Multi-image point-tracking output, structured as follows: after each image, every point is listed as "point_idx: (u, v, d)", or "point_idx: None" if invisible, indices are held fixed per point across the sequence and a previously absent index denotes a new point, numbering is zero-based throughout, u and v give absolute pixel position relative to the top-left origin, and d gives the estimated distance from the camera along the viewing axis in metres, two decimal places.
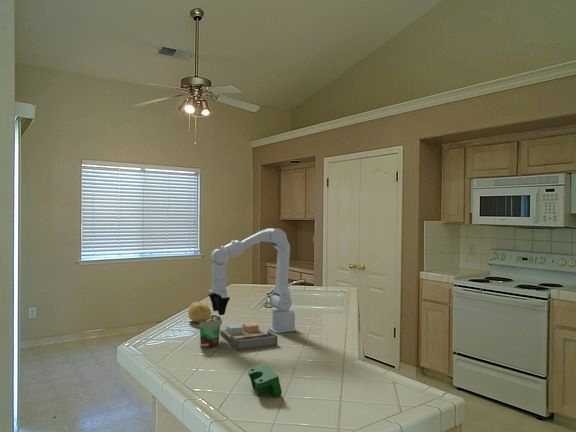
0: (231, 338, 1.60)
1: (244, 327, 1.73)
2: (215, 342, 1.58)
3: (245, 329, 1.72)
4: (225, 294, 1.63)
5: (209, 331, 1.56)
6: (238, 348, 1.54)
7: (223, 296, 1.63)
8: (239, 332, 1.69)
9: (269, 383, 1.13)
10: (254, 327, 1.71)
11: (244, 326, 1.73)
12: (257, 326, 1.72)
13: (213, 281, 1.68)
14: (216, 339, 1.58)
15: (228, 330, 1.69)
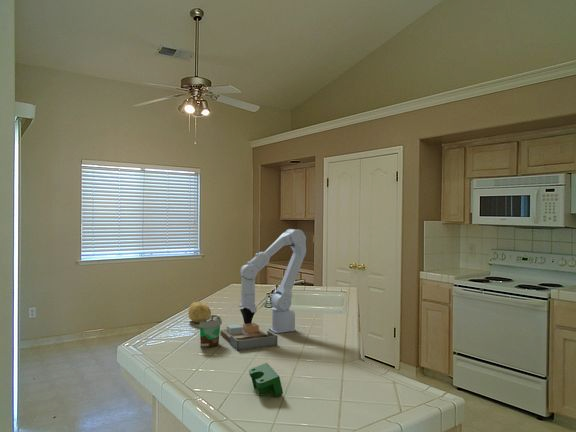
0: (231, 338, 1.60)
1: (244, 327, 1.73)
2: (215, 342, 1.58)
3: (245, 329, 1.71)
4: (255, 309, 1.70)
5: (209, 331, 1.56)
6: (238, 348, 1.54)
7: (253, 311, 1.70)
8: (239, 332, 1.69)
9: (270, 383, 1.13)
10: (254, 327, 1.71)
11: (244, 326, 1.73)
12: (257, 326, 1.72)
13: (243, 296, 1.74)
14: (216, 339, 1.58)
15: (228, 330, 1.69)
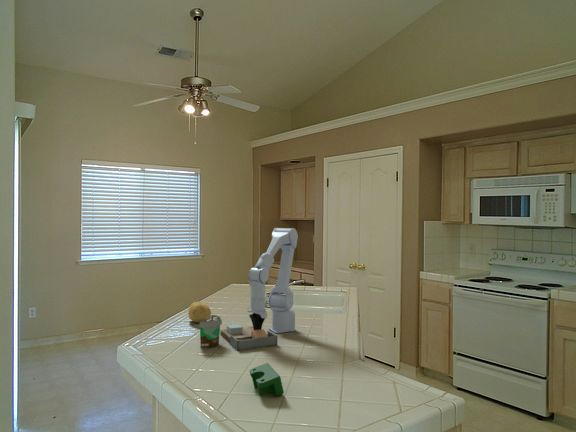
0: (231, 338, 1.60)
1: (252, 335, 1.63)
2: (215, 342, 1.58)
3: (253, 338, 1.62)
4: (265, 314, 1.60)
5: (209, 331, 1.56)
6: (238, 348, 1.54)
7: (263, 316, 1.60)
8: (239, 332, 1.69)
9: (271, 383, 1.13)
10: None
11: (253, 334, 1.63)
12: None
13: (252, 300, 1.65)
14: (216, 339, 1.58)
15: (228, 330, 1.69)
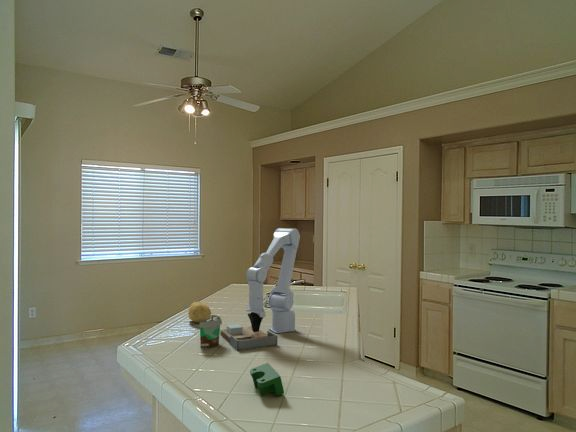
0: (231, 338, 1.60)
1: (253, 338, 1.63)
2: (215, 342, 1.58)
3: None
4: (264, 313, 1.62)
5: (209, 331, 1.56)
6: (238, 348, 1.54)
7: (262, 315, 1.62)
8: (239, 332, 1.69)
9: (271, 383, 1.13)
10: None
11: (253, 337, 1.63)
12: None
13: (250, 300, 1.66)
14: (216, 339, 1.58)
15: (228, 330, 1.69)
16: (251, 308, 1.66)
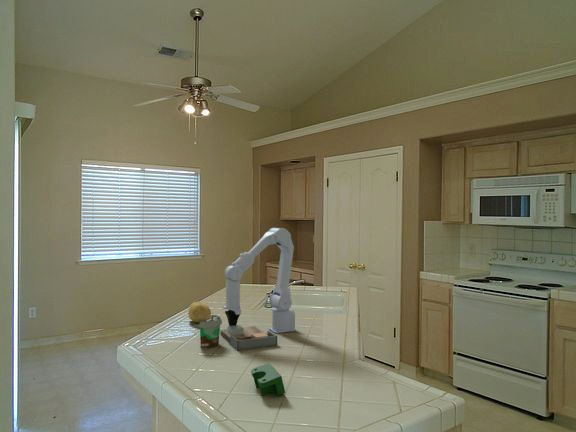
0: (231, 338, 1.60)
1: (253, 338, 1.63)
2: (215, 342, 1.58)
3: None
4: (239, 311, 1.66)
5: (209, 331, 1.56)
6: (238, 348, 1.54)
7: (237, 313, 1.66)
8: (240, 333, 1.67)
9: (272, 383, 1.14)
10: None
11: (253, 337, 1.63)
12: None
13: (227, 297, 1.70)
14: (216, 339, 1.58)
15: (229, 331, 1.68)
16: (228, 306, 1.70)
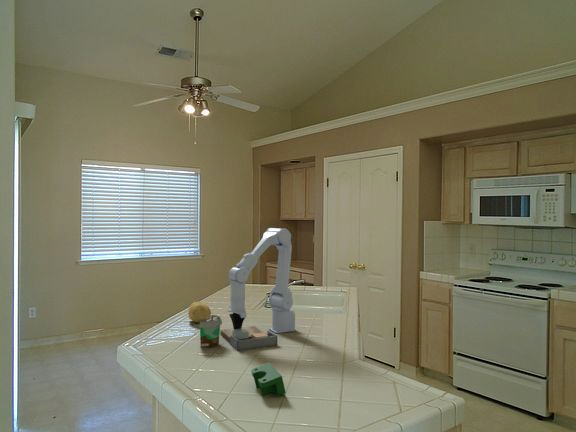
0: (231, 338, 1.60)
1: (253, 338, 1.63)
2: (215, 342, 1.58)
3: None
4: (244, 314, 1.61)
5: (209, 331, 1.56)
6: (238, 348, 1.54)
7: (242, 316, 1.60)
8: (245, 337, 1.62)
9: (273, 383, 1.14)
10: None
11: (253, 337, 1.63)
12: None
13: (232, 300, 1.65)
14: (216, 339, 1.58)
15: (234, 335, 1.63)
16: (232, 308, 1.65)
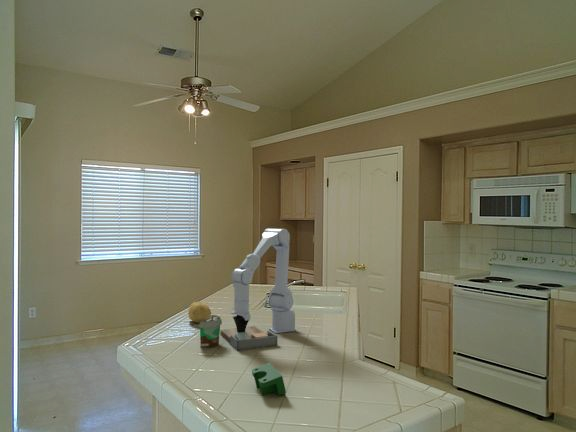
0: (231, 338, 1.60)
1: (253, 338, 1.63)
2: (215, 342, 1.58)
3: None
4: (249, 316, 1.57)
5: (209, 331, 1.56)
6: (238, 348, 1.54)
7: (247, 318, 1.56)
8: None
9: (273, 382, 1.14)
10: None
11: (253, 337, 1.63)
12: None
13: (235, 302, 1.61)
14: (216, 339, 1.58)
15: None
16: (236, 311, 1.61)
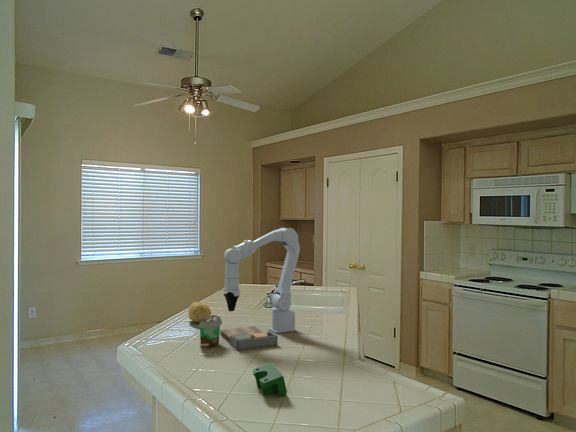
0: (231, 338, 1.60)
1: (253, 338, 1.63)
2: (215, 342, 1.58)
3: None
4: (238, 292, 1.68)
5: (209, 331, 1.56)
6: (238, 348, 1.54)
7: (236, 294, 1.67)
8: None
9: (274, 382, 1.14)
10: None
11: (253, 337, 1.63)
12: None
13: (226, 280, 1.72)
14: (216, 339, 1.58)
15: None
16: (226, 288, 1.72)
